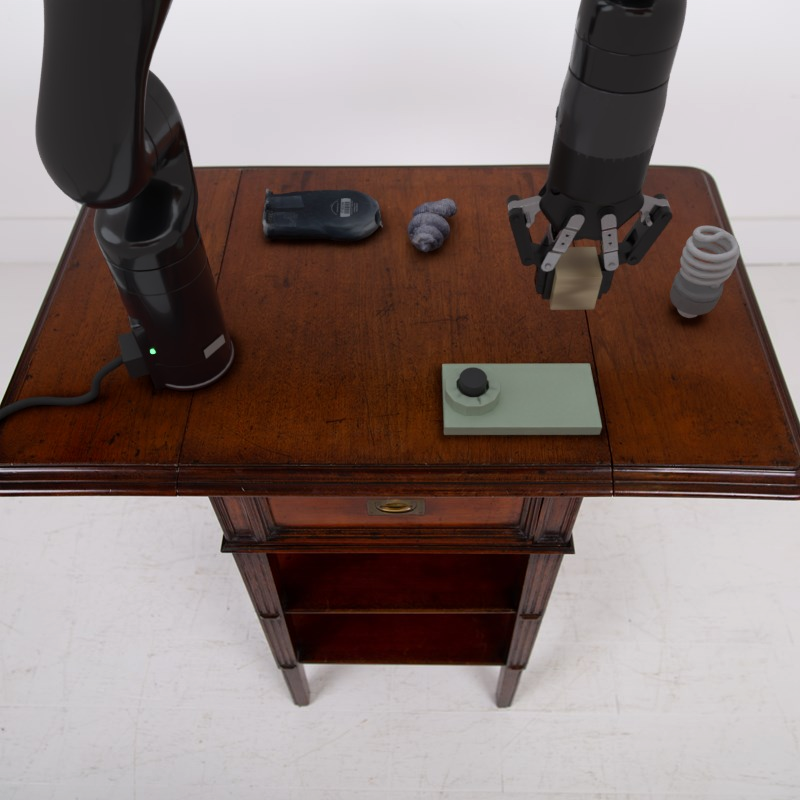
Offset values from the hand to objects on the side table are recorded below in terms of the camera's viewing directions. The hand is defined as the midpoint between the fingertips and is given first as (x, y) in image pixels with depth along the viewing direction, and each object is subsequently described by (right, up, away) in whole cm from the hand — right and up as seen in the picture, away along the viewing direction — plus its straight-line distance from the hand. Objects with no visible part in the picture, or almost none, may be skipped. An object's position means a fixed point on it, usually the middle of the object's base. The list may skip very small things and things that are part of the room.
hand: (570, 292), depth 70 cm
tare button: (-8, -9, +8) cm, 15 cm away
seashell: (-12, +11, +28) cm, 32 cm away
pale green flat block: (-3, -10, +10) cm, 15 cm away
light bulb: (+18, 0, +18) cm, 25 cm away
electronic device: (-26, +13, +30) cm, 41 cm away
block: (0, 0, 0) cm, 0 cm away
